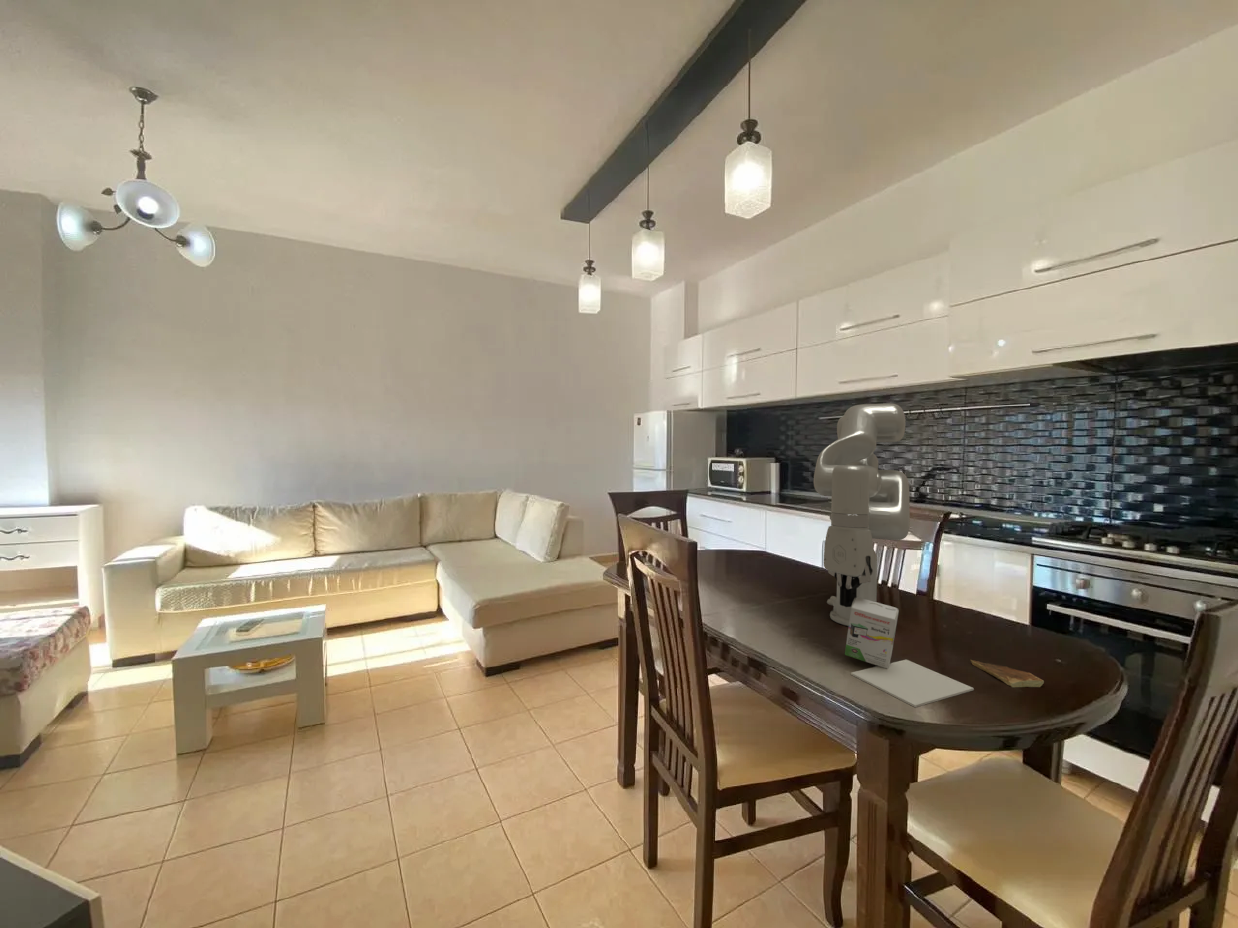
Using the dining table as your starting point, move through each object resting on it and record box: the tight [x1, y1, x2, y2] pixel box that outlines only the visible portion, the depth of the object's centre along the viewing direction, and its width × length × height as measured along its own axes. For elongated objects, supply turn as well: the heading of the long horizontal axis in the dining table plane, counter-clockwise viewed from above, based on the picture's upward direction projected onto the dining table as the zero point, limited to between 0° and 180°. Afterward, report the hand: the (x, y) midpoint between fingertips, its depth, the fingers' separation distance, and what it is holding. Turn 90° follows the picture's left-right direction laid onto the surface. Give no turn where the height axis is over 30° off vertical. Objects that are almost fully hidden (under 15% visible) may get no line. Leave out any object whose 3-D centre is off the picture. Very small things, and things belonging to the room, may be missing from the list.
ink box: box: [844, 597, 899, 669], centre depth 107 cm, size 8×5×12 cm, turn 57°
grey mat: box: [850, 659, 975, 708], centre depth 99 cm, size 14×16×1 cm
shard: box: [969, 658, 1045, 688], centre depth 103 cm, size 11×8×2 cm
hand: (848, 605), depth 111 cm, fingers closed
